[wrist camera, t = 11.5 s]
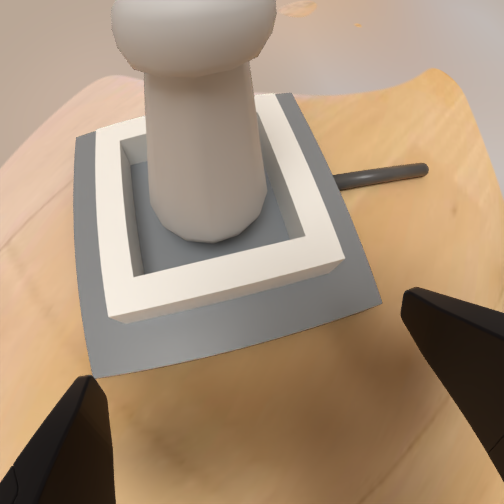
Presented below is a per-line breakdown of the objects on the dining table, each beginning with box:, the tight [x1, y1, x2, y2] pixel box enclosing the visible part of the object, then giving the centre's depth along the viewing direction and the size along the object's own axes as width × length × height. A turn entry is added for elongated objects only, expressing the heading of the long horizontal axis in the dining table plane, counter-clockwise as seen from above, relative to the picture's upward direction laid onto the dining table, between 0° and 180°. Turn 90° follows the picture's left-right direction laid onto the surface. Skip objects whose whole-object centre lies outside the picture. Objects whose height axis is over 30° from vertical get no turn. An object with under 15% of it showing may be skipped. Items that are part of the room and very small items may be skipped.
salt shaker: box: [111, 0, 276, 244], centre depth 11 cm, size 6×6×13 cm
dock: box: [73, 93, 429, 379], centre depth 17 cm, size 24×16×4 cm, turn 106°
